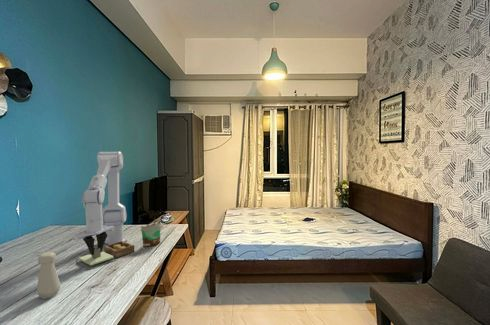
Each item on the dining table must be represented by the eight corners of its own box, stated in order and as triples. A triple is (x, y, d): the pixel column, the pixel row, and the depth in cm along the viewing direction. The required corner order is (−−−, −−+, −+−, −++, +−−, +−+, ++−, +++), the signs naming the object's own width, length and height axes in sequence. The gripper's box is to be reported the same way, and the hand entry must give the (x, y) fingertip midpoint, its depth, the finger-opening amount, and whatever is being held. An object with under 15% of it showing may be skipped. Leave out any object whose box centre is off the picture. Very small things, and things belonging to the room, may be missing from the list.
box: (104, 253, 112) (104, 246, 112) (122, 247, 118) (122, 240, 118) (116, 258, 106) (116, 251, 106) (134, 252, 112) (134, 245, 112)
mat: (76, 262, 103) (76, 261, 103) (102, 253, 111) (102, 253, 111) (89, 269, 96) (89, 269, 96) (116, 260, 104) (116, 259, 104)
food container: (153, 249, 115) (153, 227, 115) (141, 248, 116) (140, 226, 116) (167, 239, 127) (166, 219, 127) (156, 239, 129) (155, 219, 128)
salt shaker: (45, 290, 82) (43, 250, 81) (64, 289, 82) (62, 249, 82) (32, 301, 76) (29, 258, 75) (52, 300, 76) (50, 257, 76)
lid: (78, 259, 103) (78, 249, 103) (101, 252, 110) (100, 242, 110) (90, 265, 97) (90, 254, 97) (113, 257, 104) (113, 247, 104)
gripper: (78, 225, 94) (80, 261, 95) (117, 216, 106) (118, 249, 107) (70, 222, 99) (72, 257, 99) (109, 214, 110) (110, 245, 111)
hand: (95, 252), depth 103 cm, fingers closed on lid, 2 cm apart
